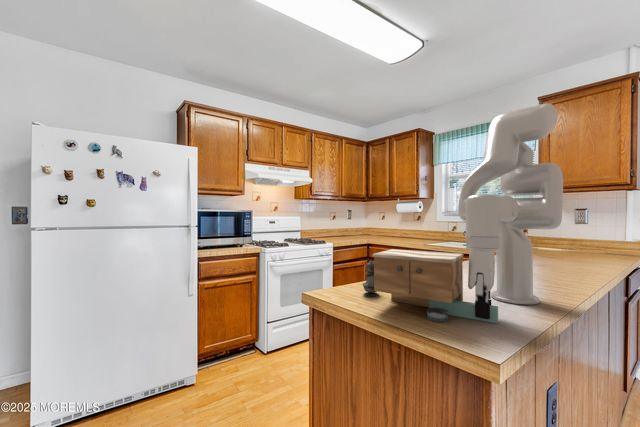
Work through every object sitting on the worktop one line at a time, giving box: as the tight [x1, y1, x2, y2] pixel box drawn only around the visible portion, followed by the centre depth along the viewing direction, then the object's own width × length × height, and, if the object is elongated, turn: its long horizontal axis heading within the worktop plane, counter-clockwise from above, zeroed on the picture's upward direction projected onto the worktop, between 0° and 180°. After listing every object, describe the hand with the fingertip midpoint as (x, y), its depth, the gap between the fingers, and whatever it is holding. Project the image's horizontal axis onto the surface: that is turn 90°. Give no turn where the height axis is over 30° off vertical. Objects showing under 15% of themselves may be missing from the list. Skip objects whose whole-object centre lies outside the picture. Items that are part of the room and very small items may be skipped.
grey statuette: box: [362, 259, 380, 298], centre depth 98 cm, size 6×6×12 cm
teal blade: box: [429, 300, 499, 324], centre depth 77 cm, size 2×16×4 cm, turn 54°
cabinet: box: [372, 248, 465, 308], centre depth 81 cm, size 15×21×16 cm
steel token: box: [426, 307, 449, 324], centre depth 74 cm, size 5×5×2 cm
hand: (483, 315), depth 74 cm, fingers closed on teal blade, 2 cm apart
